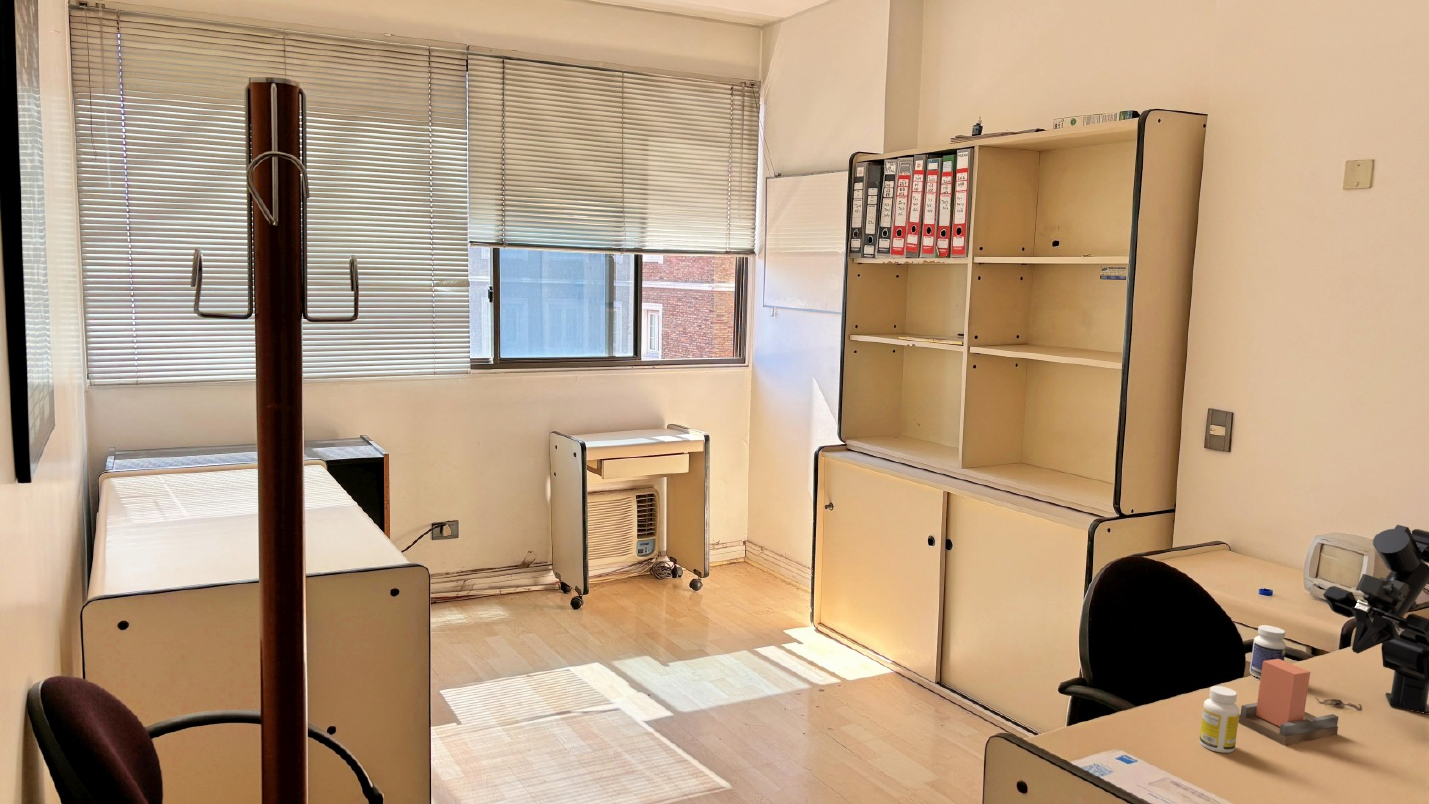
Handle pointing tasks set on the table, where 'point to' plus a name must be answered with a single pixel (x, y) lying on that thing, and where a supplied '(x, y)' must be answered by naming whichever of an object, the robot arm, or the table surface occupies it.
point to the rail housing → (1289, 726)
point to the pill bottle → (1267, 648)
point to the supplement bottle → (1220, 720)
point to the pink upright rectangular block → (1282, 692)
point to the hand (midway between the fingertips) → (1354, 651)
